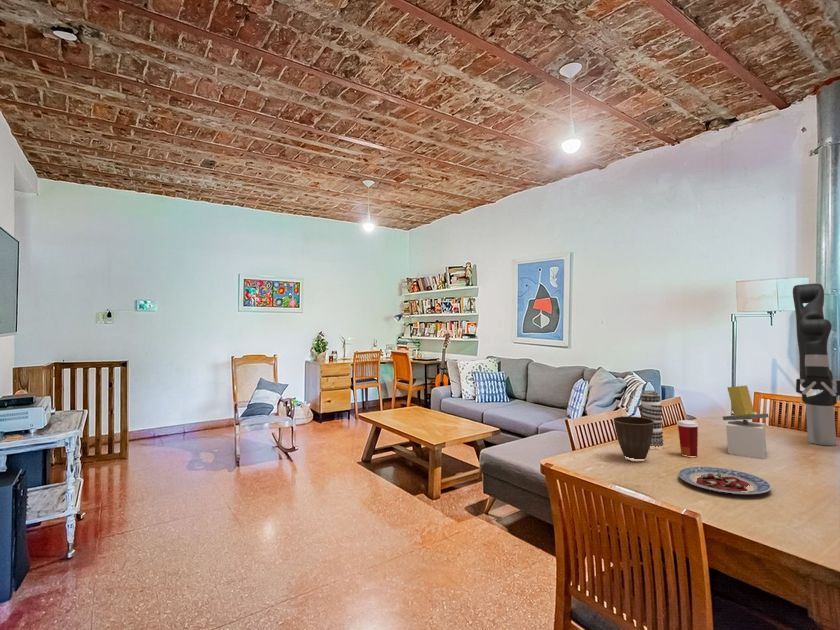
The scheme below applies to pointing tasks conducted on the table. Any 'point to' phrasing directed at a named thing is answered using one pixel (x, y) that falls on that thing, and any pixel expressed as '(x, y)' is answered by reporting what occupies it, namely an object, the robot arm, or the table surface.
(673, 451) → the table surface
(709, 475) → the ceramic plate
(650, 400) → the grey striped cylinder
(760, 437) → the stand
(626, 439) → the plant pot
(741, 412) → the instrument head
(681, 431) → the paper cup
